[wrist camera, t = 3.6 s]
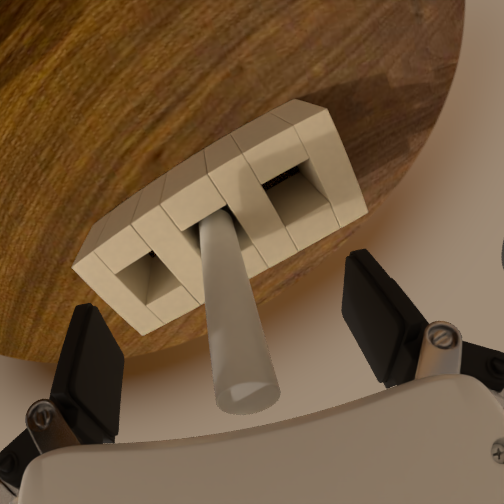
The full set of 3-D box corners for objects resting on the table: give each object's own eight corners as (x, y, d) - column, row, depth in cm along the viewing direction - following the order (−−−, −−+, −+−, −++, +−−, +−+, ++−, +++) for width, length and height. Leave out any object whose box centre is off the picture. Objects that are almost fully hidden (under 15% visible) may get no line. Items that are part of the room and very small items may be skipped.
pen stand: (294, 98, 17) (327, 108, 13) (333, 180, 20) (368, 212, 16) (93, 224, 19) (71, 267, 15) (148, 286, 22) (142, 336, 18)
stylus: (224, 183, 19) (280, 375, 8) (228, 209, 20) (282, 408, 9) (194, 189, 19) (208, 389, 7) (200, 215, 20) (222, 419, 8)
